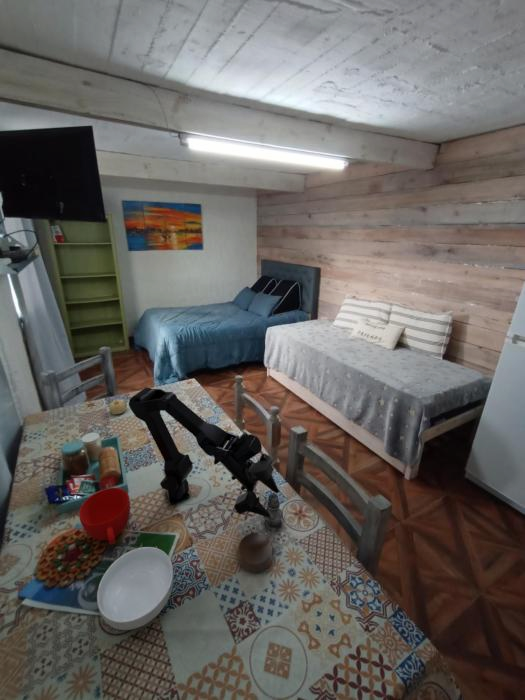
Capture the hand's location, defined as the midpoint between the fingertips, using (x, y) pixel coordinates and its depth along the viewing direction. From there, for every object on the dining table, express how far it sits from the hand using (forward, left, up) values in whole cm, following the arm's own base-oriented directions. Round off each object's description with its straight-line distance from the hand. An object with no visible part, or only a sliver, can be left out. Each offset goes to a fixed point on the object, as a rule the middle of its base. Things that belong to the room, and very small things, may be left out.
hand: (273, 503), depth 93 cm
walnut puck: (-10, -6, -8) cm, 14 cm away
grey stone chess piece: (0, 0, -8) cm, 8 cm away
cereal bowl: (-39, 0, -8) cm, 40 cm away
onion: (-28, +91, -8) cm, 96 cm away
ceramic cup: (-42, +22, -8) cm, 48 cm away
